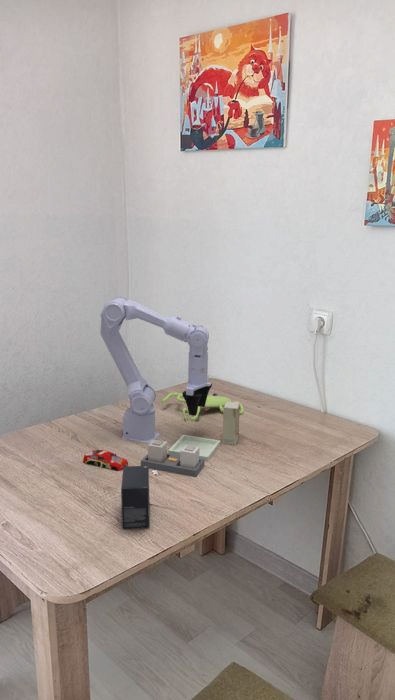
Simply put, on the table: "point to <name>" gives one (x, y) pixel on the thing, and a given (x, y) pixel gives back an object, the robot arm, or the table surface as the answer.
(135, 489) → the small box
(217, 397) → the figurine
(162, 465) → the strip
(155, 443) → the twin plug
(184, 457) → the plug
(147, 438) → the robot arm
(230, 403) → the skincare box
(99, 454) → the race car
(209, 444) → the tray
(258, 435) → the table surface
